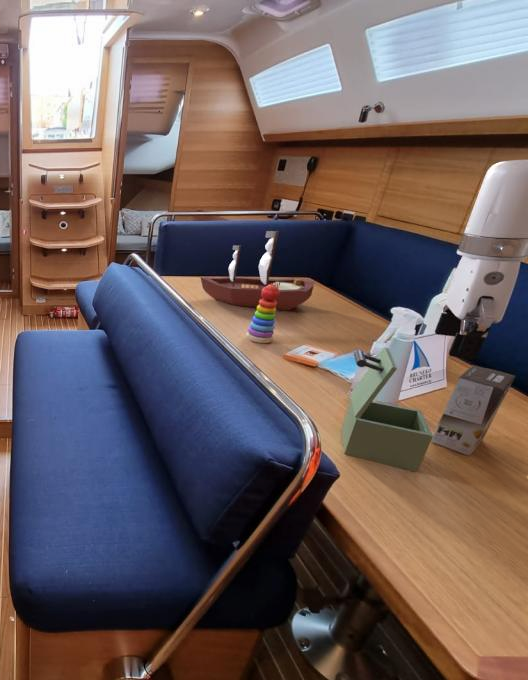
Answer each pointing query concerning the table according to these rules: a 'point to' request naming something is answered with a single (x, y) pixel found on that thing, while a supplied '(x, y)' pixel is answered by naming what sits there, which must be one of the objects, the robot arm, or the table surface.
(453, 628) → the table surface
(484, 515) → the table surface
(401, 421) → the green hollow box
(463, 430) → the coffee box
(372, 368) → the green box lid
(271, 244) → the sailing ship
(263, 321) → the stacking toy
